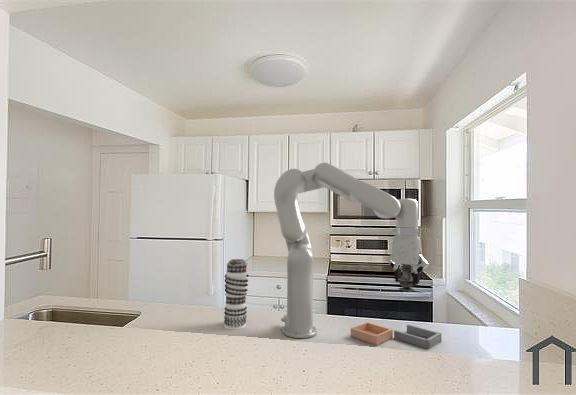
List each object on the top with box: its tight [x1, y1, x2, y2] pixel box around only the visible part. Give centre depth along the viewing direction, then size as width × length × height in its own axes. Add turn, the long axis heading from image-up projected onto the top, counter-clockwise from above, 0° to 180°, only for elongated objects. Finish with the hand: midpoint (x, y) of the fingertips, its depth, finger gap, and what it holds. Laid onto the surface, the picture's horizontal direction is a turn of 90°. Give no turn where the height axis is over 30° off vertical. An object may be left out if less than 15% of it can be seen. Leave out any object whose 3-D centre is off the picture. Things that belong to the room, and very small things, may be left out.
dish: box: [350, 321, 394, 347], centre depth 110 cm, size 10×10×3 cm
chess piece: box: [398, 264, 416, 293], centre depth 112 cm, size 6×6×12 cm
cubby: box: [393, 324, 442, 350], centre depth 109 cm, size 12×10×2 cm
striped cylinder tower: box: [223, 258, 249, 331], centre depth 120 cm, size 9×9×25 cm
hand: (406, 282), depth 112 cm, fingers closed on chess piece, 5 cm apart
